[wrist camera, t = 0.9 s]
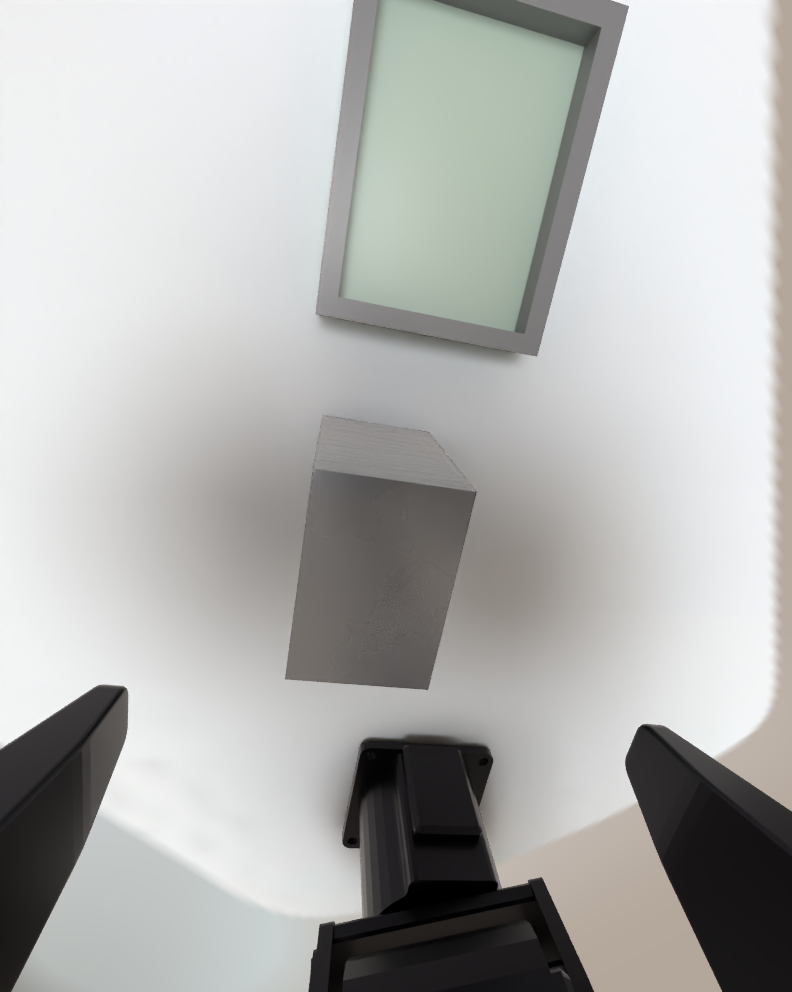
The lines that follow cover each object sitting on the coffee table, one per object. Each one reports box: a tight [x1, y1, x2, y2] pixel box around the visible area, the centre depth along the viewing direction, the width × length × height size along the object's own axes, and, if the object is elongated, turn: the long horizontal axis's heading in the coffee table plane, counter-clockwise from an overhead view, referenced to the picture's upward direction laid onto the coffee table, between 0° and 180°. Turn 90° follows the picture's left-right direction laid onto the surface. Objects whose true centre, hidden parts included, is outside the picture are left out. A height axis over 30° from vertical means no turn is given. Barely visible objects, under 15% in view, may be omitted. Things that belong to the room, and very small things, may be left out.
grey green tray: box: [316, 0, 629, 356], centre depth 15 cm, size 9×7×2 cm
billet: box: [285, 415, 476, 690], centre depth 16 cm, size 6×4×7 cm, turn 170°
